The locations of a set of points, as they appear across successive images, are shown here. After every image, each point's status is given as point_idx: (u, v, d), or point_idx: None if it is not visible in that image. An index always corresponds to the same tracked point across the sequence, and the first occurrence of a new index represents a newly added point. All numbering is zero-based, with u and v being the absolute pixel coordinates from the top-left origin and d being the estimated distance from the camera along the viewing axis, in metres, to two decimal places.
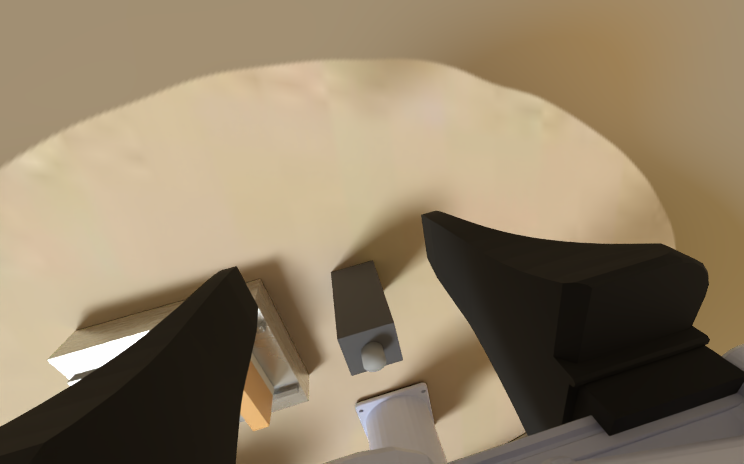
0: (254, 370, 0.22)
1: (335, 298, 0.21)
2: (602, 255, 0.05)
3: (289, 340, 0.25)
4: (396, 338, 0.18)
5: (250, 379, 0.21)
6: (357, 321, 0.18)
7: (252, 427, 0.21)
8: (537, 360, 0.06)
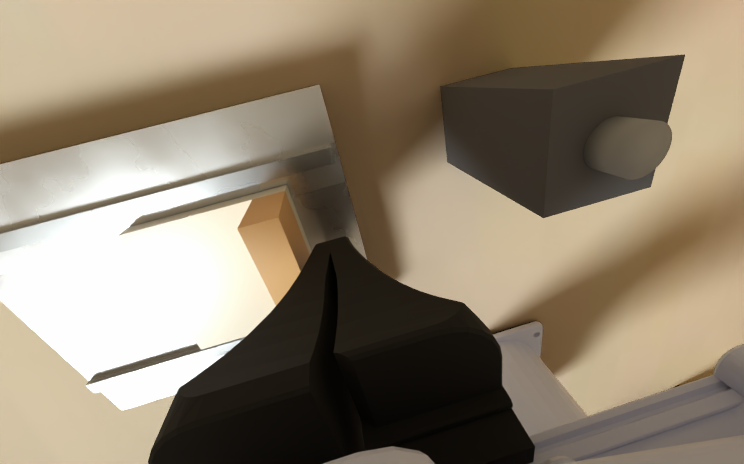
0: (305, 247, 0.11)
1: (480, 86, 0.10)
2: (409, 313, 0.05)
3: None
4: (666, 114, 0.08)
5: (302, 254, 0.10)
6: (575, 76, 0.08)
7: None
8: None
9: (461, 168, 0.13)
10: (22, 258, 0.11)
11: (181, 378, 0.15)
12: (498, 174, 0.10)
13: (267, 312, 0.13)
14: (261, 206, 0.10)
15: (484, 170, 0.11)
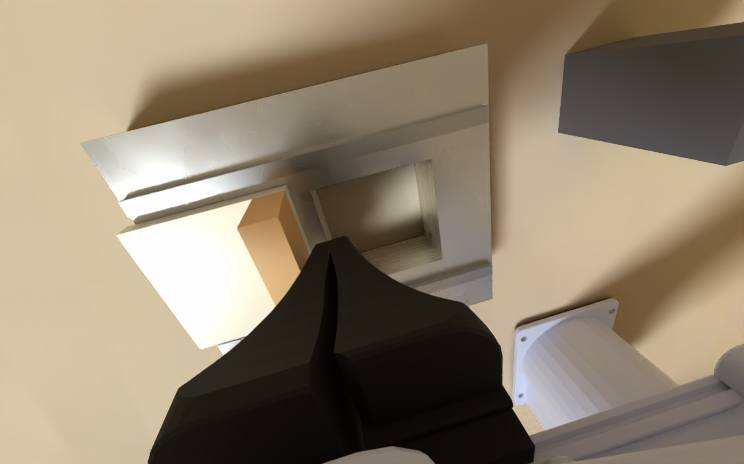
0: (304, 247, 0.11)
1: (638, 46, 0.11)
2: (409, 313, 0.05)
3: None
4: None
5: (302, 254, 0.10)
6: None
7: None
8: None
9: (583, 135, 0.14)
10: None
11: None
12: (652, 132, 0.11)
13: (266, 312, 0.13)
14: (261, 206, 0.10)
15: (627, 131, 0.12)
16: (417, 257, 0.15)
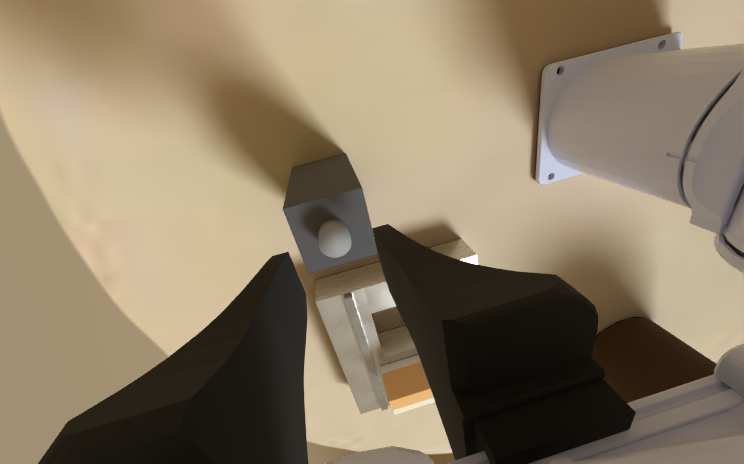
0: (409, 368, 0.24)
1: None
2: (500, 286, 0.05)
3: None
4: (315, 202, 0.13)
5: (410, 379, 0.23)
6: None
7: None
8: (445, 389, 0.06)
9: None
10: None
11: None
12: None
13: None
14: None
15: None
16: None
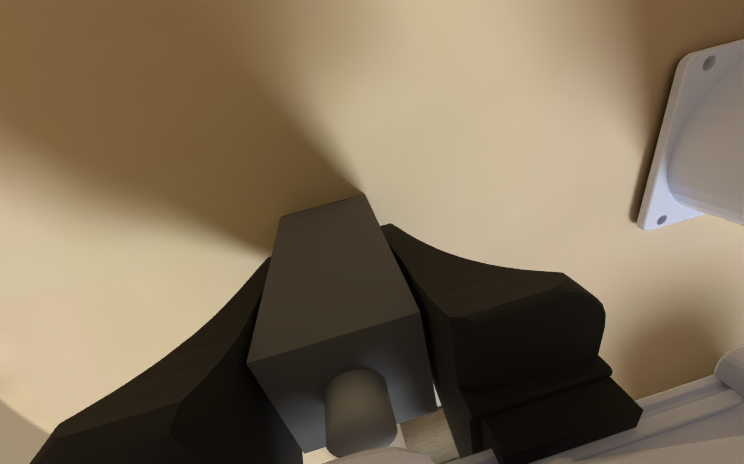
0: None
1: None
2: (506, 284, 0.05)
3: None
4: (317, 345, 0.06)
5: None
6: None
7: None
8: (451, 387, 0.06)
9: None
10: None
11: None
12: None
13: None
14: None
15: None
16: None
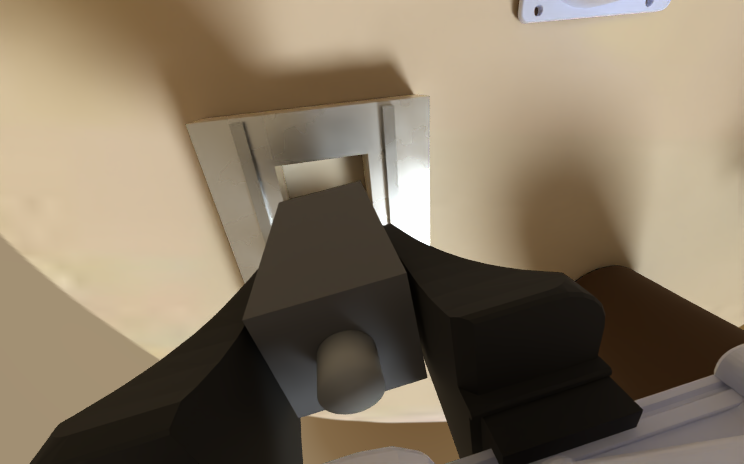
0: None
1: None
2: (506, 284, 0.05)
3: None
4: (309, 303, 0.06)
5: None
6: None
7: None
8: (451, 387, 0.06)
9: None
10: None
11: None
12: None
13: None
14: None
15: None
16: (367, 168, 0.17)
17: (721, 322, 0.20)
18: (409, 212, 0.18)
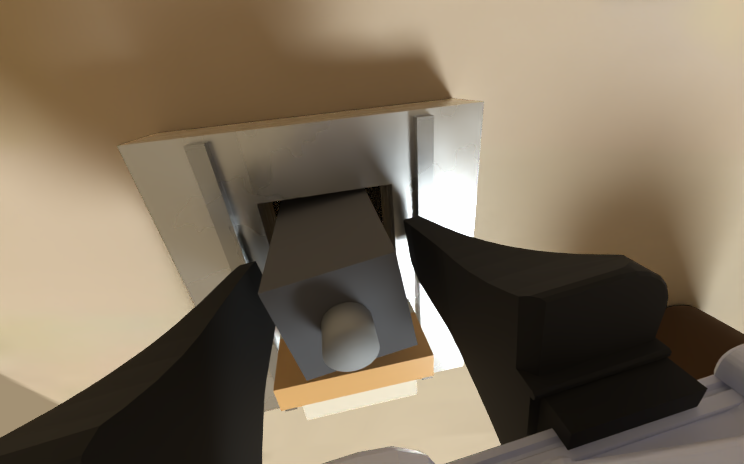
0: None
1: None
2: (565, 267, 0.05)
3: (329, 113, 0.12)
4: (314, 279, 0.07)
5: None
6: None
7: (423, 376, 0.12)
8: (503, 371, 0.06)
9: None
10: None
11: None
12: None
13: None
14: None
15: None
16: (389, 202, 0.12)
17: None
18: None
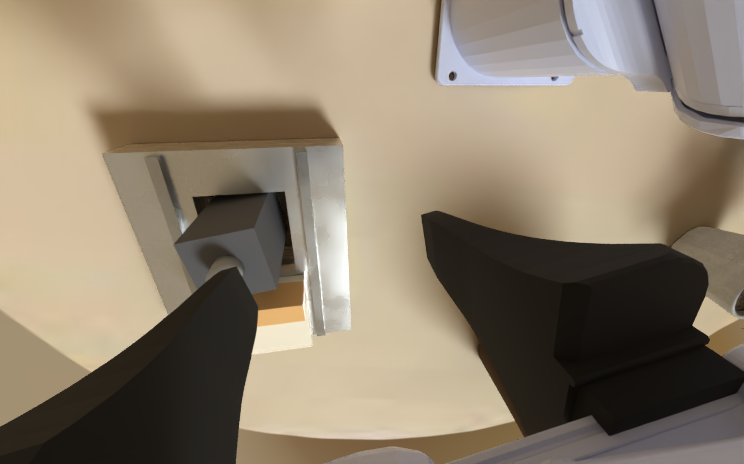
0: None
1: None
2: (602, 255, 0.05)
3: (250, 141, 0.18)
4: (206, 239, 0.13)
5: None
6: None
7: (297, 320, 0.17)
8: (537, 360, 0.06)
9: (284, 239, 0.20)
10: None
11: (337, 295, 0.21)
12: None
13: None
14: None
15: None
16: None
17: None
18: (327, 246, 0.19)
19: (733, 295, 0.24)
